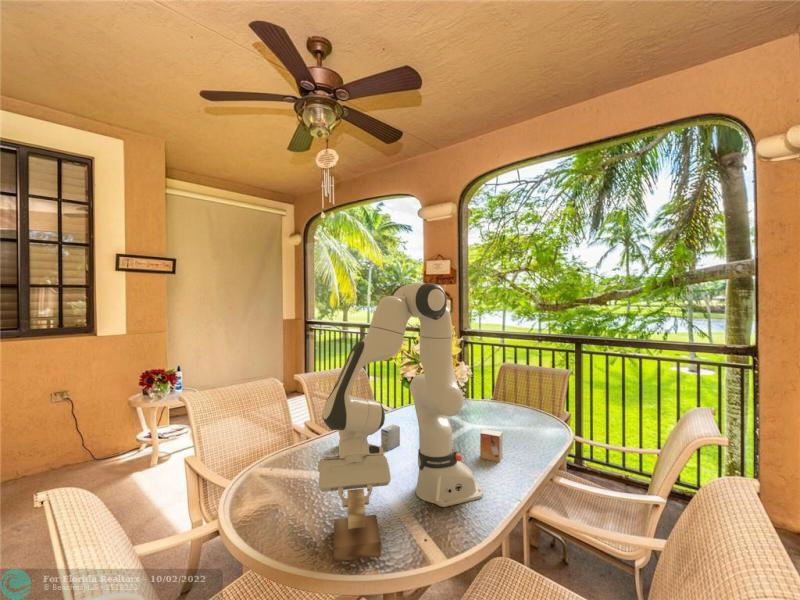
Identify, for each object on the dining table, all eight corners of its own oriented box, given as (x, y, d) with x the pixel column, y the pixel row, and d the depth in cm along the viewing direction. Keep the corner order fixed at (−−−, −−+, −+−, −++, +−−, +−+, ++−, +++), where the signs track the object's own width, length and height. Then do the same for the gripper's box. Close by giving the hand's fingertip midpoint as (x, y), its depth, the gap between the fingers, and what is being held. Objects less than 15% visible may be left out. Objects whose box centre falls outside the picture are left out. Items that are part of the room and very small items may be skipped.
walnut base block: (376, 528, 107) (376, 514, 107) (381, 557, 95) (380, 541, 95) (334, 533, 105) (334, 519, 105) (333, 563, 93) (333, 547, 93)
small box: (480, 458, 150) (479, 433, 150) (483, 453, 155) (483, 428, 155) (499, 462, 146) (499, 436, 146) (502, 457, 151) (502, 431, 151)
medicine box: (392, 442, 168) (392, 424, 167) (400, 445, 165) (400, 426, 165) (381, 448, 161) (380, 429, 161) (388, 451, 159) (388, 431, 159)
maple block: (363, 517, 102) (363, 488, 102) (365, 526, 98) (364, 497, 98) (347, 518, 102) (347, 490, 102) (348, 528, 97) (347, 498, 97)
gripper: (317, 453, 106) (316, 505, 96) (388, 447, 109) (393, 497, 100) (318, 461, 110) (317, 512, 101) (386, 455, 114) (391, 504, 104)
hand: (356, 505), depth 100 cm, fingers closed on maple block, 4 cm apart
